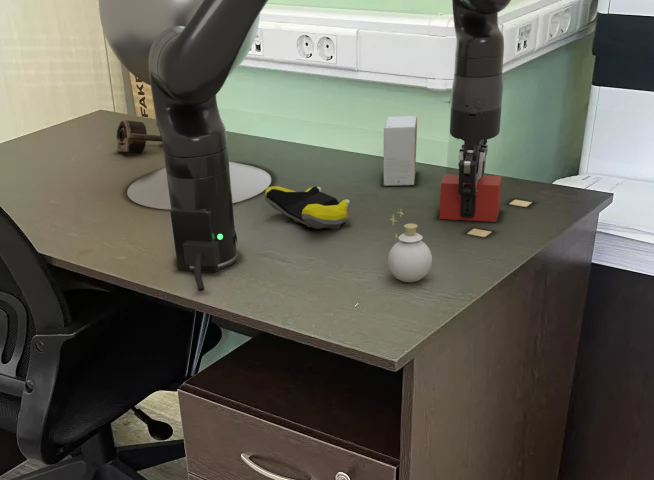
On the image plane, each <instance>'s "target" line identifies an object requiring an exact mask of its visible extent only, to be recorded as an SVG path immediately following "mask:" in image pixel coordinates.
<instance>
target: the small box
mask: <svg viewBox="0 0 654 480" xmlns="http://www.w3.org/2000/svg"><path fill="white" fill-rule="evenodd" d="M417 136H418V116H417V115H401V116H399V115H398V116H397V115H395V116H386V119H385V124H384V127H383V186H385V187H386V186H415V179H416V173H417V171H416V170H417V169H416V167H417V165H416V164H417V140H418V139H417Z"/></svg>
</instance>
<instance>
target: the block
mask: <svg viewBox="0 0 654 480" xmlns="http://www.w3.org/2000/svg"><path fill="white" fill-rule="evenodd" d="M441 180H442V181H441V182H440V194H439V217H438V218H439V220H453V221H470V222H491V223H496V222H497V221H498V217H499V215H500V207H501V197H502V183H503V176H502V175H501V176H500V175H483V176H482V177H481V179H480V180H478V184H477V190H478V192H477V194H476V204H475V215H474V217H473V218H465V217H461V215H460V212H461V195H459V192H458V189H459V174H448V173H447V174H444V177H443V178H442V179H441ZM465 187H472V184H471V183H465Z"/></svg>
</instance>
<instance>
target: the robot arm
mask: <svg viewBox="0 0 654 480" xmlns="http://www.w3.org/2000/svg"><path fill="white" fill-rule="evenodd" d="M511 1H512V0H451V5H452V16H453V17H452V18H453V27H454V33H455V51H454V69H453V70H454V71H453V72H454V73H453V80H452V86H451V97H450V99H451V100H450V117H449V118H450V120H449V121H450V122H449V134H450V136H451V137H453V138H454V139H457V140H462V142H463V143H462V144H461V148H459V151H458V160H459V161H458V165H457V166H458V175H459V189H458V192H459V195H461V212H460V215H461V217H465V218H473V217H474V215H475V204H476V194H477V192H478V190H477V184H478V180H480V179H481V177H482V176H484V174H485V170H486V162H487V160H486V159H487V154H488V150H489V149H488V147H489V145H488V140H491V139H493V138H496V137H497V136H498V135H499V134H500V132H501V131H500V130H501V121H502V120H501V118H502V107H503V106H502V105H503V91H504V83H503V82H504V81H503V70H504V69H503V68H504V53H505V38H504V35H503V33H502V31H501V30H500V27H499V21H498V19H499V18H498V17H499V15H498V14H499V12H502V11H503V10H505V8H507V6H509V4H510V3H511ZM268 2H269V0H203V2H202V3H201V5H200V6H199V8H198V9H197V11H196V12H195V14H194V15H193V17H192V18H191V20H190V21H189V23H188V24H187V25H186V27H184V26H176V27H171V28H169V29H166V30H165V31H163V32H162V33H161V34H159V35H158V37H157V38H156V39H155V41H154V42H153V44H152V47H151V50H150V53H149V75H150V83H151V85H150V89H151V97H152V102H153V103H152V104H153V108H154V114H155V115H154V116H155V121H156V125H157V126H156V127H157V129H158V132H159V136H161V139H162V142H161V143H162V150H163V155H164V165H165V167H166V174H167V182H168V189H169V197H170V205H171V210H170V211H169V212H170V220H171V227H172V235H173V245H174V250H175V251H174V252H175V260H176V266H177V270H178V271H188V272H194V279H195V283H196V287H197V291H198V292H203V291H205V285H204V281H203V277H202V273H213V274H214V273H216V272H217V271H220V270H221V269H225V268H227V267H230V266H232V265H233V264H234V263H236V262H237V260H238V258H239V252H238V250H237V249H238V248H237V246H238V235H237V233H236V227H235V215H234V203H232V192H231V181H230V169H229V161H230V158H229V157H230V156H229V147H228V136H227V130H226V126H225V123H224V121H223V119H222V117H221V114H220V109H219V106H218V101H217V94H218V93H219V92H220V91H221V89H222V88H223V86H224V85H225V83H226V81H227V79H228V78H229V76H230V75H229V73H230V71H231V69H232V67H233V65H234V62H235V60H236V58H237V56H238V54H239V52H240V50H241V48H242V45H243V43H244V41H245V39H246V37H247V35H248V33H249V31H250V29H251V27H252V26H253V24H254V22H255V20H256V18H257V17H258V15H259V14H260V15H261V13H262V10H263V9H264V8H265V6H266V5H267V3H268ZM228 75H229V76H228ZM465 183H471V184H472V187H465Z"/></svg>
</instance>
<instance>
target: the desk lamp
mask: <svg viewBox="0 0 654 480" xmlns="http://www.w3.org/2000/svg"><path fill="white" fill-rule="evenodd" d="M202 2H203V0H98V12H99V13H98V15H99V20H100V24H101V28H102V31H103V35H104V37H105V39H106V41H107V43H108V45H109V48H110V49H111V51H112V53H113V54H114V55H115V58H116V59H117V60H118V61H119V63H120V64H121V65H123V67H124V68H125V69H126V70H127V71H128V72H129V73H130V74H132V75H133V76H134V77H135V78H136V79H138V80H139V81H141V82H143V83H145V84H146V85H148V86H151V83H150V75H149V53H150V50H151V47H152V44H153V42H154V41H155V39H156V38H157V37H158V35H159V34H161V33H162V32H163V31H165V30H166V29H169V28H171V27H176V26H184V27H186V25H187V24H188V23H189V21H190V20H191V18H192V17H193V15H194V14H195V12H196V11H197V9H198V8H199V6H200V5H201V3H202ZM260 17H261V13H260V14H259V15H258V17H257V18H256V20H255V22H254V24H253V26H252V27H251V29H250V31H249V33H248V35H247V37H246V39H245V41H244V43H243V45H242V48H241V50H240V52H239V54H238V56H237V58H236V60H235V62H234V65H233V67H232V69H231V71H230V73H229V75H228V77H229V76H231V75H232V74H233V73H234V72H235V71H236V70H237V69H238V68H239V67H240V66H241V64H242V63H243V62H244V61H245V59H246V58H247V56H248V54H249V53H250V51H251V49H252V47H253V45H254V42H255V39H256V36H257V34H258V30H259V25H260ZM229 169H230V181H231V192H232V203H233V204H235V203H240V202H242V201H243V202H244V201H246V200H248V199H251V198H253V197H256V196H258V195H260V194H261V193H263V192H264V191H266V189H267V188H268V187H270V185H271V183H272V177H271V175H270V173H268V172H267V171H265V170H264V169H261V168H259V167H256V166H253V165H249V164H245V163H244V164H243V163H240V162H236V161H235V162H234V161H230V160H229ZM126 194H127V196H128V198H129V199H130V200H131V201H133V202H134V203H136V204H138V205H141V206H144V207H148V208H151V209H160V210H170V211H171V205H170V197H169V189H168V182H167V174H166V166H164V167H163V168H161V169H159V170H156V171H153V172H151V173H149V174H147V175H145V176H142V177H140V178H138V179H137V180H135V181H134V182H133V183H131V184H130V185H129V187H128V188H127V192H126Z"/></svg>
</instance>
